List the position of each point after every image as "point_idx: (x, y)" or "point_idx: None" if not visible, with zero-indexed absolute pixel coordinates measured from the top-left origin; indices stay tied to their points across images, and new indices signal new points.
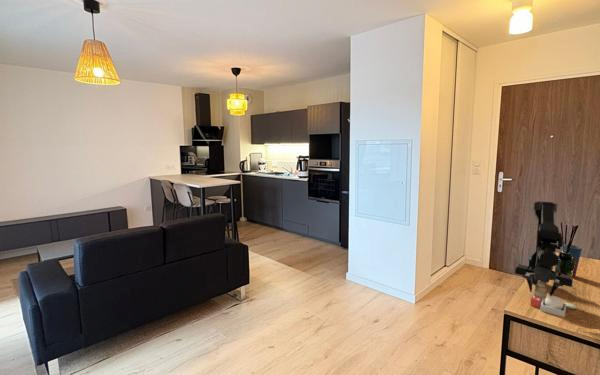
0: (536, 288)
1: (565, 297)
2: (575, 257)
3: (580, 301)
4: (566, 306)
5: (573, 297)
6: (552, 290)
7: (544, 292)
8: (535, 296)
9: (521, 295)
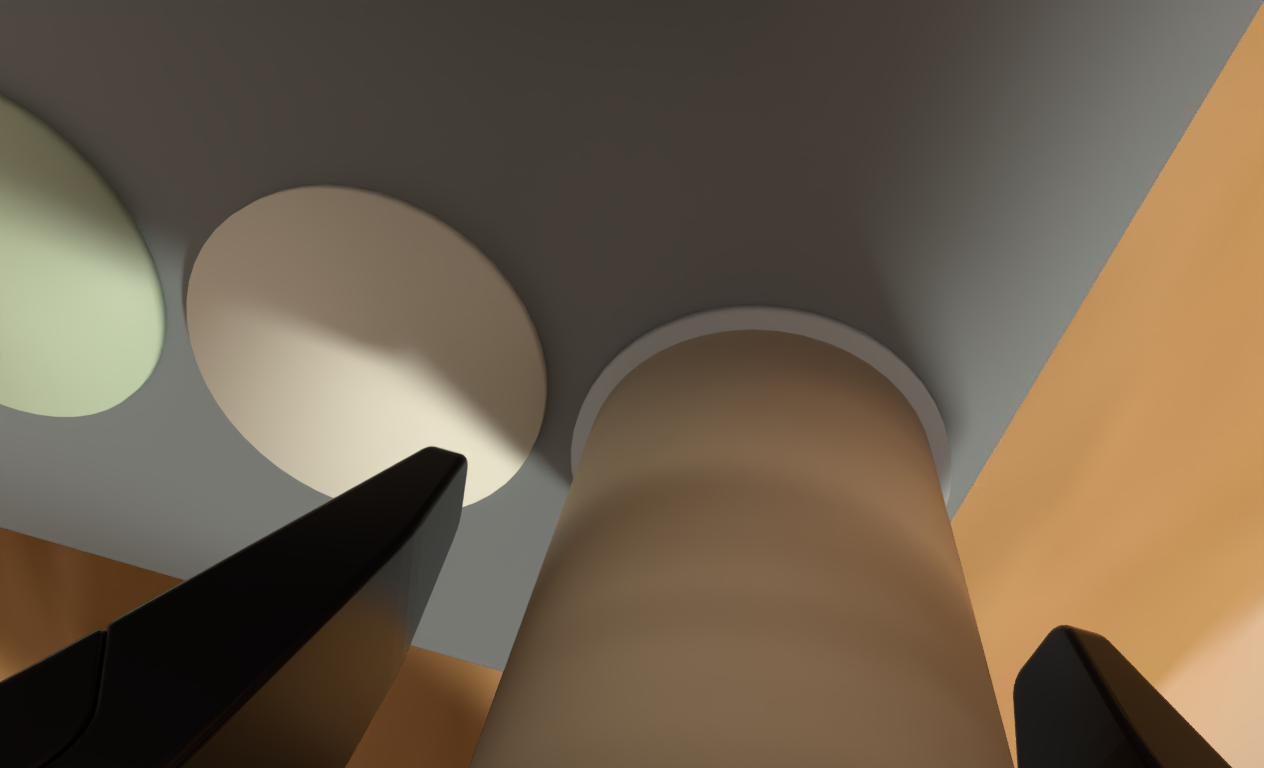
0: (1008, 761)
1: None
2: None
3: (3, 656)
4: (31, 132)
5: None
6: (190, 660)
7: (631, 551)
8: (928, 445)
9: (1237, 540)
